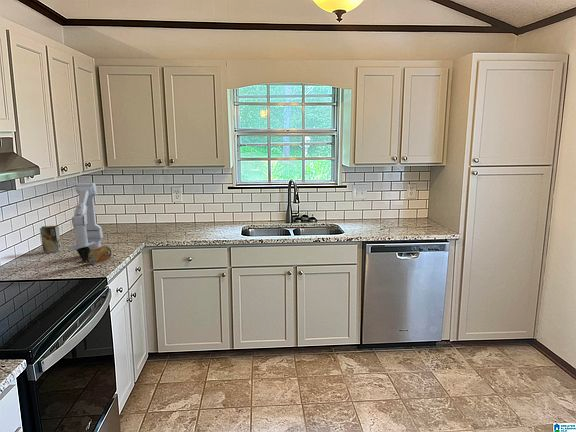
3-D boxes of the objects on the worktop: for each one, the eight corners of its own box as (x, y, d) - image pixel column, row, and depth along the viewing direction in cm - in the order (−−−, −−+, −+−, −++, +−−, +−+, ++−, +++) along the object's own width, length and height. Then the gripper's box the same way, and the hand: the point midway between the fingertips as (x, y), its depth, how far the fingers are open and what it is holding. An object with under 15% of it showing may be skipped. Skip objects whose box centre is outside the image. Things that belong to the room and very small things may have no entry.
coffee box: (62, 249, 271) (58, 225, 268) (58, 252, 264) (55, 227, 262) (46, 250, 269) (43, 226, 266) (42, 253, 263) (39, 228, 260)
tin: (89, 265, 233) (87, 251, 232) (85, 265, 235) (84, 250, 233) (112, 258, 246) (110, 244, 245) (108, 258, 248) (107, 244, 246)
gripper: (72, 240, 222) (76, 265, 225) (97, 234, 234) (100, 258, 237) (65, 239, 226) (68, 263, 228) (90, 233, 238) (93, 256, 240)
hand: (84, 260), depth 233 cm, fingers closed
